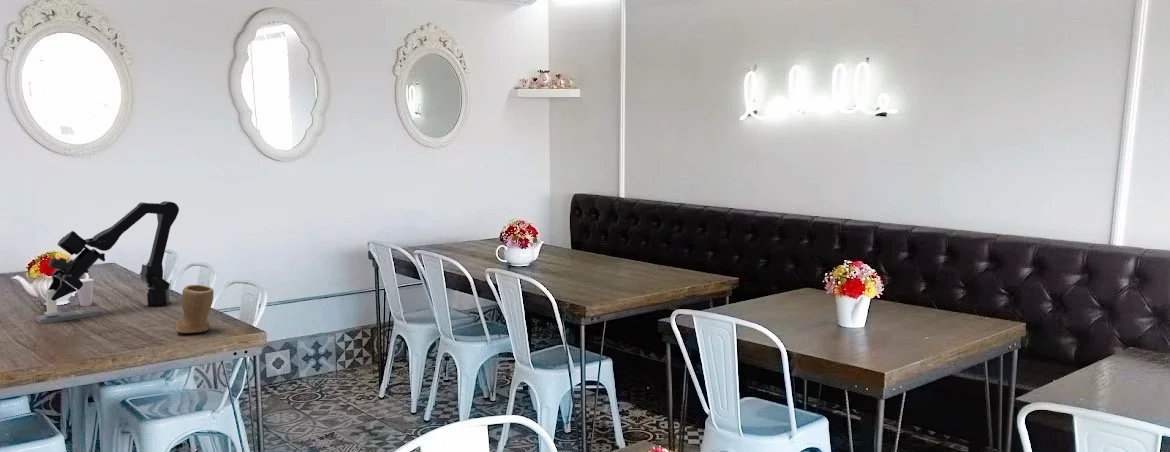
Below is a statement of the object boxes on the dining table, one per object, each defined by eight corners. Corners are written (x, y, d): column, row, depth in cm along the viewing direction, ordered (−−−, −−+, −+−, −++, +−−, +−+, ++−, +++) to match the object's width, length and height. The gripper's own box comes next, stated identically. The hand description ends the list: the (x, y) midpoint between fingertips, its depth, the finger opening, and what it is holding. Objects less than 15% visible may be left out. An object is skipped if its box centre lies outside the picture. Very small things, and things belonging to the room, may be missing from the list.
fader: (57, 312, 303) (55, 288, 302) (60, 314, 299) (58, 290, 298) (44, 314, 300) (42, 290, 299) (47, 316, 296) (45, 292, 295)
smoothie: (89, 306, 321) (86, 270, 320) (72, 307, 321) (69, 270, 320) (99, 303, 328) (96, 267, 326) (82, 303, 328) (79, 267, 326)
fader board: (93, 312, 312) (92, 307, 312) (99, 315, 306) (98, 311, 306) (35, 320, 300) (35, 315, 299) (40, 324, 294) (40, 319, 294)
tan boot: (216, 333, 278) (213, 287, 276) (175, 337, 273) (172, 291, 271) (215, 323, 291) (212, 280, 289) (176, 327, 287) (173, 283, 285)
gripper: (56, 246, 307) (22, 280, 301) (69, 251, 293) (34, 287, 287) (82, 265, 313) (50, 299, 307) (96, 271, 300) (63, 307, 293)
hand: (49, 298), depth 298 cm, fingers open, 9 cm apart
